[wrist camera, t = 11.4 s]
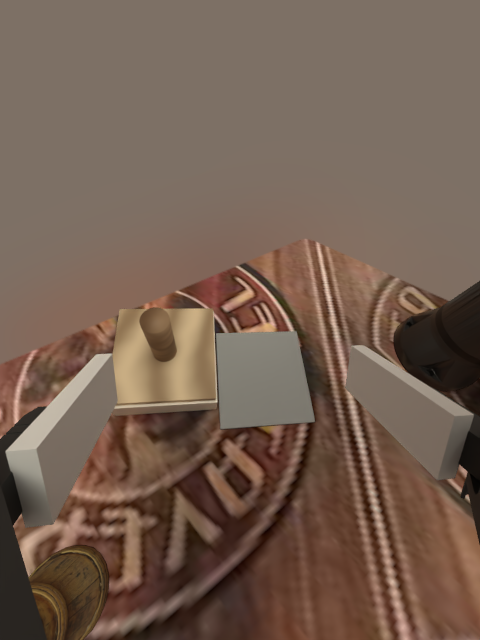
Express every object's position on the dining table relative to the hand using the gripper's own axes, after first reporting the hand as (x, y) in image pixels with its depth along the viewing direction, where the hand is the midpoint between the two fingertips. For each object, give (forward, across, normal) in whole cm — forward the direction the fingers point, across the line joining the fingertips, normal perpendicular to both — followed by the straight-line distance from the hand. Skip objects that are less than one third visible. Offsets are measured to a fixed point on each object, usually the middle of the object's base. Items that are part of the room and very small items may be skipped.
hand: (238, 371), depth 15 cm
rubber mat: (+27, +8, -15) cm, 32 cm away
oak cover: (+25, -7, -10) cm, 28 cm away
